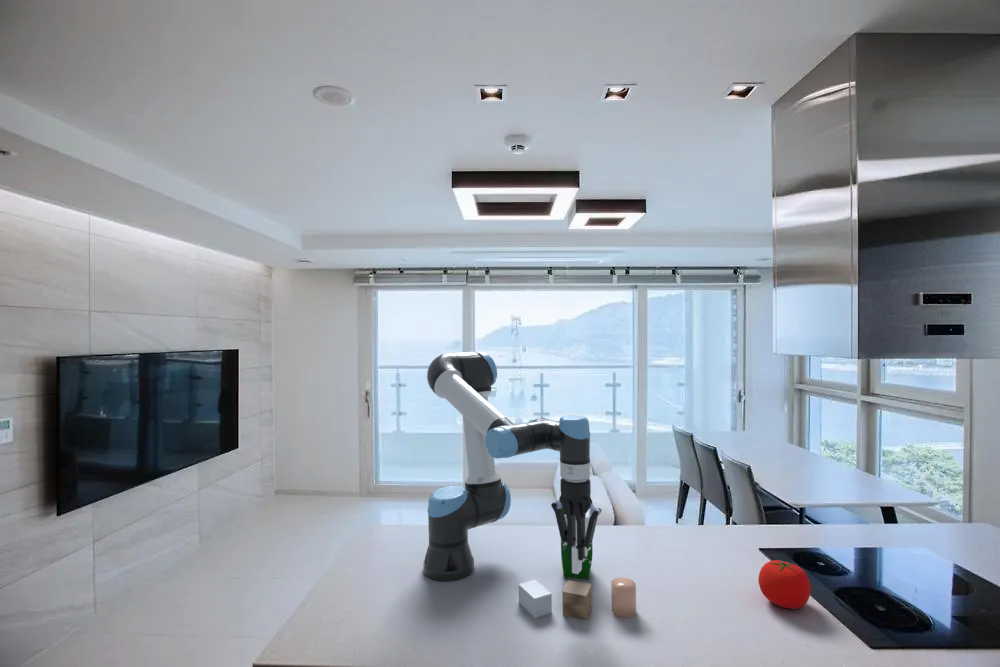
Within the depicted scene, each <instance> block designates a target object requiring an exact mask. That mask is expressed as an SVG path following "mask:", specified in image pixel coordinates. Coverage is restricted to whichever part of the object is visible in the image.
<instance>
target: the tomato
mask: <svg viewBox="0 0 1000 667" xmlns="http://www.w3.org/2000/svg"><path fill="white" fill-rule="evenodd" d="M757 580H758V586H759V588H760V591H761V593H762V595H763V596H764V597H765V598H766V599H767V600H768V601H770V602H771V603H773V604H774V605H777V606H780V607H781V608H785V609H791V610H795V609H797V610H798V609H800V608H803V607H804V606H805V605H806V604H807V603H808V601H809V599H810V596H811V592H812V586H811V582H810V579H809V577H808V575H807V573H806V571H805V570H804V569H803V568H801V567H800V566H798V565H797V564H795V563H791V562H787V561H783V560H781V559H777V560H775V559H774V560H770V561H767V562H766V563H764V564H763V566H762V567H761V568H760V571H759V573H758V579H757Z"/></svg>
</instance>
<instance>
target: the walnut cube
mask: <svg viewBox="0 0 1000 667" xmlns="http://www.w3.org/2000/svg"><path fill="white" fill-rule="evenodd" d="M592 597H593V596H592V583H587V582H581V581H575V580H570V579H568V581H567V582H566V583H565V585H564V588H563V590H562V616H565V617H569V618H575V619H580V620H584V621H587V620H588V618H589V615H590V612H591V610H592V608H593V606H592V604H593V601H592V599H593V598H592Z"/></svg>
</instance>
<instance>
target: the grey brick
mask: <svg viewBox="0 0 1000 667" xmlns="http://www.w3.org/2000/svg"><path fill="white" fill-rule="evenodd" d="M552 594H553V593H552V592H550V591H549V590H548V589H547V588H546V587H545V586H543V585H542V584H541V583H540V582H538V580H536V579H532V580H528V581H525V582H521V583H518V603H519V604H520V605H521V606H522V607H523V608H524V610H526V611H527V612H528V613H529V614H530V615H531V616H532V617H533V618H534V619H537V618H539V617H543V616H546V615H548V614H551V613H553V609H552V607H553V604H552V602H553V600H552V596H553V595H552Z"/></svg>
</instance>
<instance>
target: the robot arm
mask: <svg viewBox="0 0 1000 667" xmlns="http://www.w3.org/2000/svg"><path fill="white" fill-rule="evenodd" d="M426 379H427V384H428V387H429V388H430V389H431V391H432V392H433V393H434V394H435V395H436V396H437V397H438V398H441V399H443V400H444V399H445V400H446V401H447V402H448V403H449V404H450V405H451V406H453V408H454V409H456V411H457V412H459V413H460V414H461V415H462V421H463V429H464V430H463V431H464V432H463V433H464V440H465V441H464V442H465V449H466V450H465V451H466V459H467V460H466V462H467V471H468V476H467V477H466V479H465V480H464V486H462V485H452V486H450V485H447V486H444V487H441V488H439V489H436V490H435V491H433V492H432V493H431V494H430V496H429V497H428V504H427V505H428V506H427V507H428V508H427V514H428V515H427V516H428V519H427V520H428V547H427V550H426V553H425V557H424V559H423V567H422V568H423V574H424V573H425V574H424V575H425V576H426V577H427V576H428V577H427V578H429V579H431V580H434V581H441V582H450V581H451V582H452V581H456V580H461V579H463V578H466V577H468V576H469V575H471V574H472V573H473V571H474V569H475V560H474V559H475V558H474V556H473V554H472V551H471V547H470V544H469V538H468V537H469V536H468V535H469V533H468V532H469V530H470V529H475V528H477V527H480V526H484V525H487V524H490V523H495V522H497V521H499V520H502V519H504V518H505V517H506V516H507V514H508V513H509V511H510V509H511V504H512V503H511V502H512V497H511V492H510V489H509V488H508V485H507V483H505V482H504V481H502V476H500V475H499V474H498V473H497V472H496V463H495V459H505V458H506V459H507V458H512V457H515V456H519V455H523V454H528V453H533V452H537V451H541V450H551V451H552V450H553V451H555V452H559V464H560V465H559V472H560V474H559V475H560V477H561V478H560V482H559V484H560V496H559V499H558V500H557V499H556V500H555V501H553V502H552V503H551V504H550V505H551V508H552V510H553V512H554V513H555V514H554V515H555V519H556V524H557V527H558V532H559V536H560V542H561V541H562V542H566V543H567V544H568V549H569V558H572V573H575V574H578V573H579V572H580V571H581V570H582V560H583V559H584V558H585V547H588V546H589V545H590V544H591V543H592V544H593V539H594V535H595V531H596V526H597V522H598V517H599V516H600V514H601V512H602V508H600V507H596V506H595V505H594V504H593V500H592V498H591V492H592V491H591V489H592V488H591V479H590V477H591V459H590V458H591V453H590V452H591V451H590V450H591V449H590V447H591V445H590V444H591V441H590V440H591V431H590V422H589V419H588V418H587V417H586V416H583V415H574V414H571V415H564V416H563V415H562V416H561V417H560V418H559V420H558V421H557V420H552V419H548V418H546V417H533V418H531V419H529V421H527V422H522V423H518V424H515V423H513V422H512V421H511V420H510V419H508V417H507V416H505V415H504V414H503V413H502V412H501V411H500V410H498V409H497V408H496V407H495V406H494V405H492V404H491V403H490V402H489V400H488V399H489V398H488V397H489V395H491V393H492V386H493V385H495V383H497V382H496V381H497V379H498V369H497V365H496V362H495V360H494V358H493V357H491V355H490V354H488V353H486V352H484V351H467V352H466V351H465V352H447V353H443V354H440V355H438V356H437V357H435V358H434V359H433V360H432V361H431V363H430V364H429V366H428V369H427V373H426ZM562 507H564V509H565V511H566V518H567V524H566V520H565V515H564V511H563V508H562ZM589 509H590V515H591V516H590V519H589V523H588V527H587V532H586V536H585V517H586V513H587V511H588V510H589ZM576 521H577V540H576ZM576 541H577V543H575V542H576Z"/></svg>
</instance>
